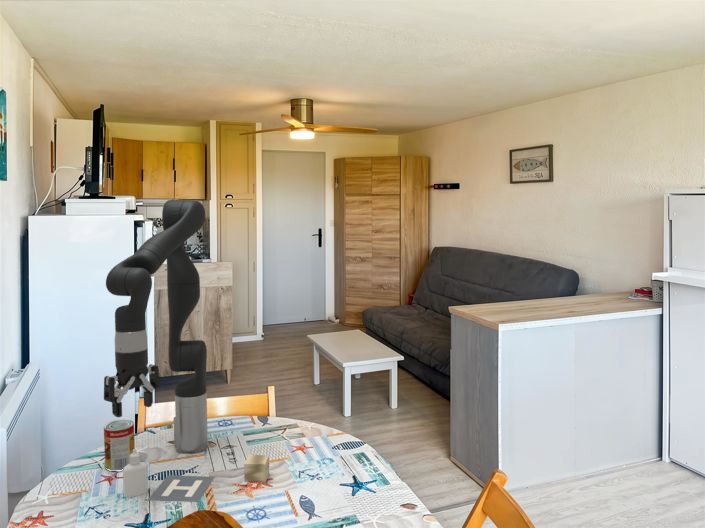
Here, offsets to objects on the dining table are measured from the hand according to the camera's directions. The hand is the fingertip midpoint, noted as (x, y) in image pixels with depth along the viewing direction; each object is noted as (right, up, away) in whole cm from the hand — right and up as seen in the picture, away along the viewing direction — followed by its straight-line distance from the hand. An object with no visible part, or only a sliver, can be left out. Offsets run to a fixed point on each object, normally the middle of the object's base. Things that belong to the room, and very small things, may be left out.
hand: (133, 411), depth 136 cm
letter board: (+11, -22, +4) cm, 25 cm away
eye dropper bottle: (0, -22, +2) cm, 22 cm away
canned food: (-11, -21, +18) cm, 30 cm away
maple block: (+29, -21, +11) cm, 38 cm away
